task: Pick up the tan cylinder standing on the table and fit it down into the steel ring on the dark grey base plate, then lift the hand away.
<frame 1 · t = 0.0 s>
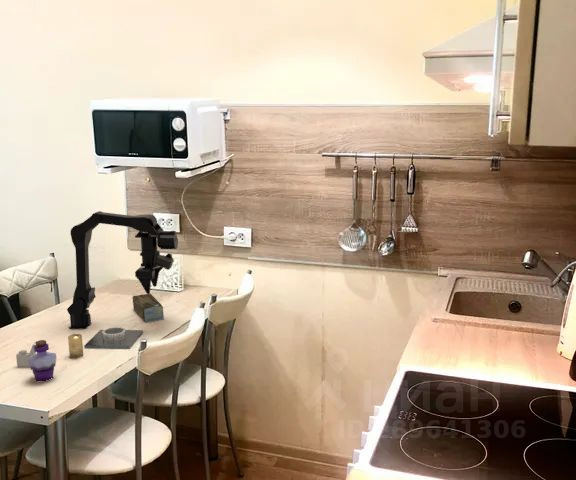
hand: (151, 289, 234), 15 cm above the table, tool pointing down, fingers open, 9 cm apart
ring block: (114, 340, 224), on the table
potion bottle: (44, 378, 193), on the table
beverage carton: (148, 315, 252), on the table
grey notched block: (29, 366, 202), on the table
tan cylinder: (76, 356, 210), on the table
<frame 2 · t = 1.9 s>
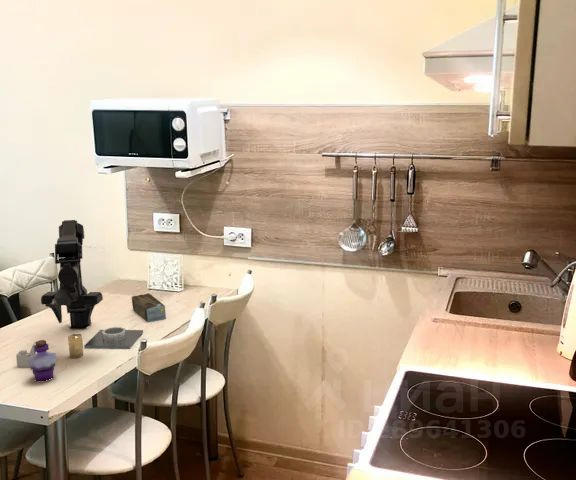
hand: (74, 322, 208), 12 cm above the table, tool pointing down, fingers open, 9 cm apart
nothing on the table moved.
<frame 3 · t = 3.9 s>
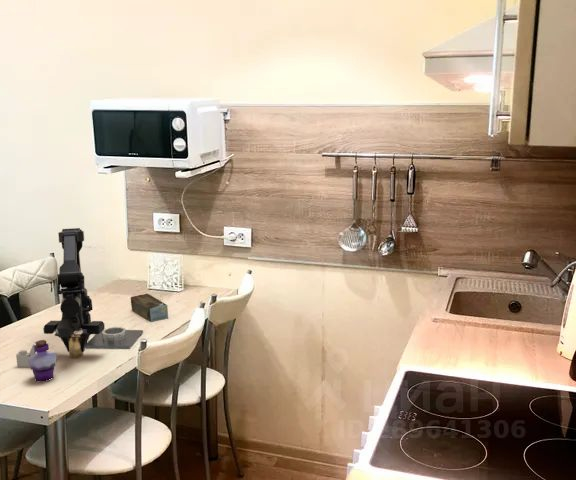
hand: (76, 351, 210), 2 cm above the table, tool pointing down, fingers closed on tan cylinder, 4 cm apart
tan cylinder: (76, 356, 210), on the table, touching gripper
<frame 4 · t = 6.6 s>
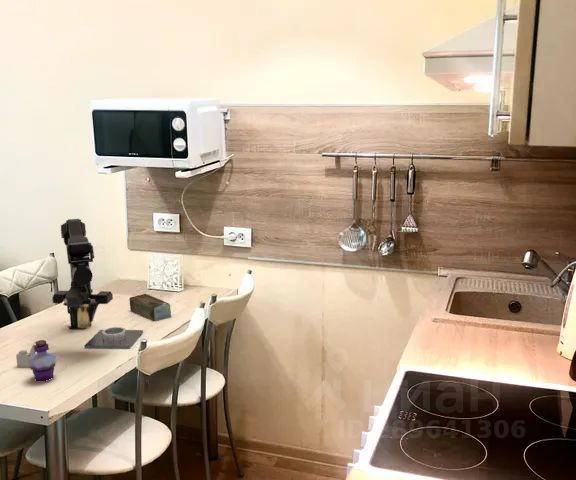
hand: (84, 321, 212), 11 cm above the table, tool pointing down, fingers closed on tan cylinder, 4 cm apart
tan cylinder: (84, 325, 212), point 9 cm above the table, touching gripper
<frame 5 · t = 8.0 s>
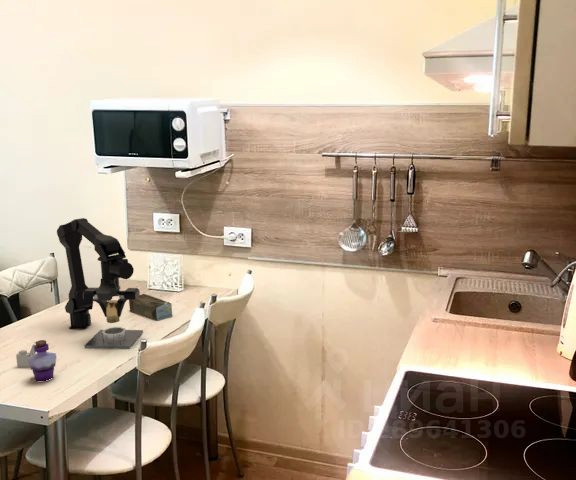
hand: (112, 316, 222), 9 cm above the table, tool pointing down, fingers closed on tan cylinder, 4 cm apart
tan cylinder: (113, 320, 223), point 7 cm above the table, touching gripper
when the fingers open (5 cm above the table, at t = 9.3 s): tan cylinder drops 3 cm, resting on ring block.
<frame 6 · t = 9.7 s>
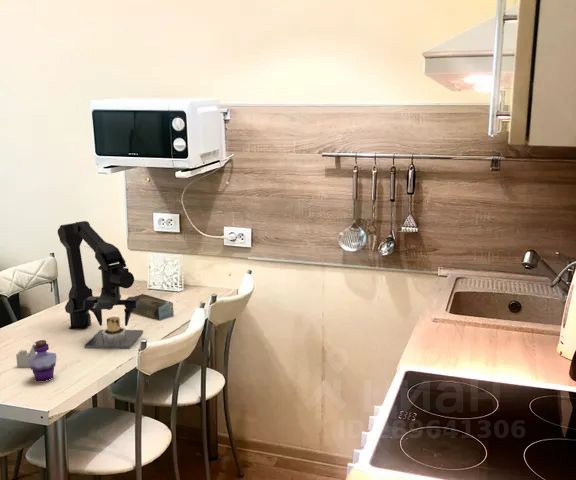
hand: (113, 325, 223), 5 cm above the table, tool pointing down, fingers open, 9 cm apart
tan cylinder: (114, 337, 224), point 1 cm above the table, touching ring block
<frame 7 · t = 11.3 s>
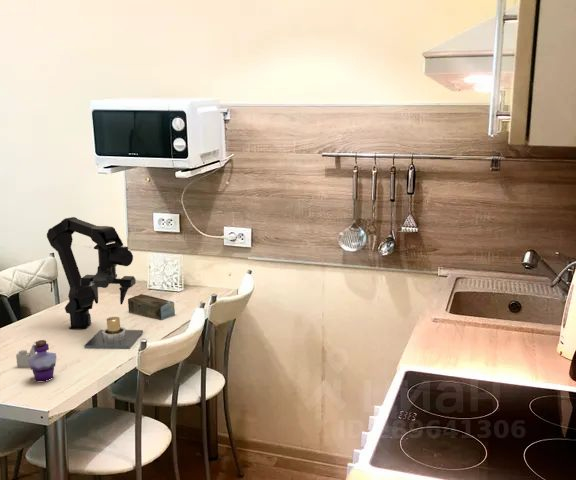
hand: (109, 303, 228), 12 cm above the table, tool pointing down, fingers open, 9 cm apart
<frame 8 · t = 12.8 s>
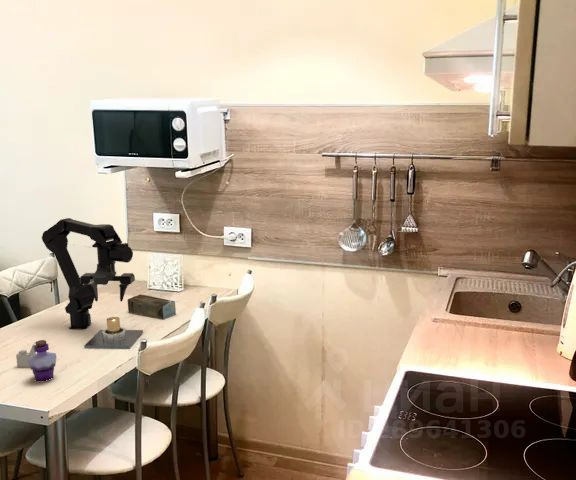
hand: (109, 301, 230), 12 cm above the table, tool pointing down, fingers open, 9 cm apart
at the end: tan cylinder 0.0 cm off-centre on the ring block, point 1.0 cm above the ring block's base; the gripper is holding nothing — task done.
